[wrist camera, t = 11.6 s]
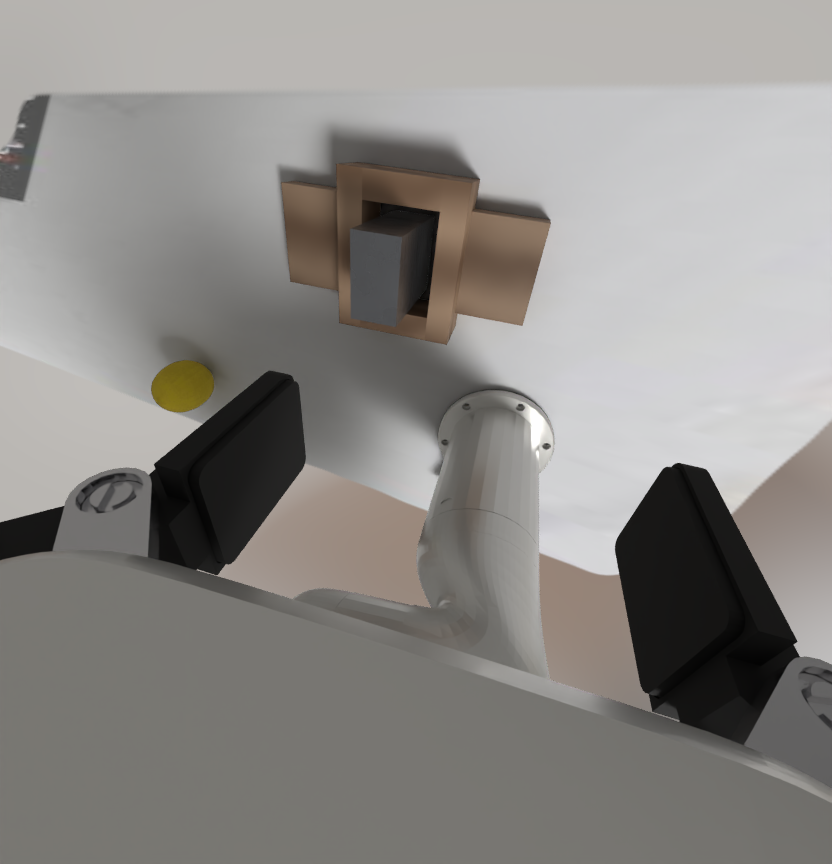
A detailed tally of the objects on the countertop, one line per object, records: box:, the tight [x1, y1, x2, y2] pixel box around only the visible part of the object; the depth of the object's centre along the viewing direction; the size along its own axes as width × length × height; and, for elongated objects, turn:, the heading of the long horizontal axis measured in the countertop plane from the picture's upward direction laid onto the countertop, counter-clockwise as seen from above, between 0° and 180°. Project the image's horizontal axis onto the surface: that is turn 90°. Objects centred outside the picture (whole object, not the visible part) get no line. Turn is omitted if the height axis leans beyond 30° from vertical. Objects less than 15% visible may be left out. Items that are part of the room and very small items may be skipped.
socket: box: [281, 162, 551, 345], centre depth 33 cm, size 12×22×4 cm, turn 84°
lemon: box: [151, 360, 214, 412], centre depth 46 cm, size 6×6×8 cm
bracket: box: [350, 210, 435, 327], centre depth 31 cm, size 6×4×10 cm, turn 174°
